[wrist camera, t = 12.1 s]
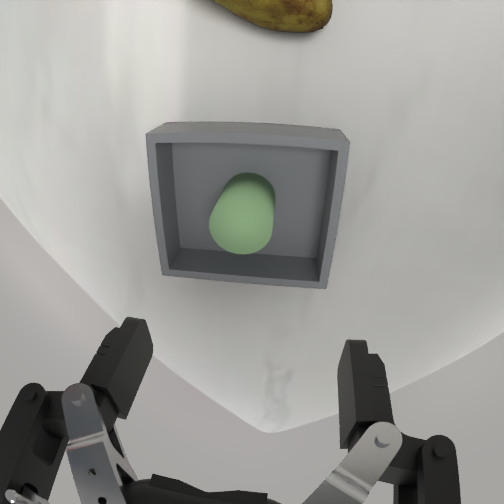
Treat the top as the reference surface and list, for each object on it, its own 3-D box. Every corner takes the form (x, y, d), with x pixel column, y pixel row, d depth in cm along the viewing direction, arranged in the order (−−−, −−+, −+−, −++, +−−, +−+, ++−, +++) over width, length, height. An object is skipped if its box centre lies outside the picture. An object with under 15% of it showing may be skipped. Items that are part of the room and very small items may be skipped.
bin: (340, 129, 27) (349, 141, 23) (322, 259, 34) (326, 289, 30) (166, 122, 28) (145, 133, 24) (176, 248, 36) (162, 275, 31)
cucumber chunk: (276, 174, 29) (274, 200, 24) (274, 222, 32) (270, 256, 27) (222, 171, 29) (207, 196, 24) (223, 219, 32) (210, 252, 27)
